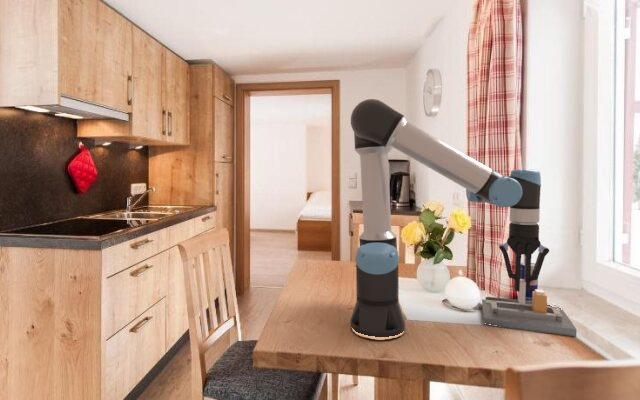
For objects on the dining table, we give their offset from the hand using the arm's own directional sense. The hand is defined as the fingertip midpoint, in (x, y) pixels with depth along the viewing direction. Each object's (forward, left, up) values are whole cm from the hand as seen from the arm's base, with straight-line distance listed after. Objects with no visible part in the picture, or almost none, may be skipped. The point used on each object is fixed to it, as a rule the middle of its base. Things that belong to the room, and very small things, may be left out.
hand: (521, 302), depth 105 cm
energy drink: (+20, -5, -5) cm, 21 cm away
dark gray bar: (+11, -2, -5) cm, 12 cm away
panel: (0, -1, -5) cm, 5 cm away
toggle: (0, -5, -3) cm, 5 cm away
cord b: (+13, -1, -5) cm, 14 cm away
